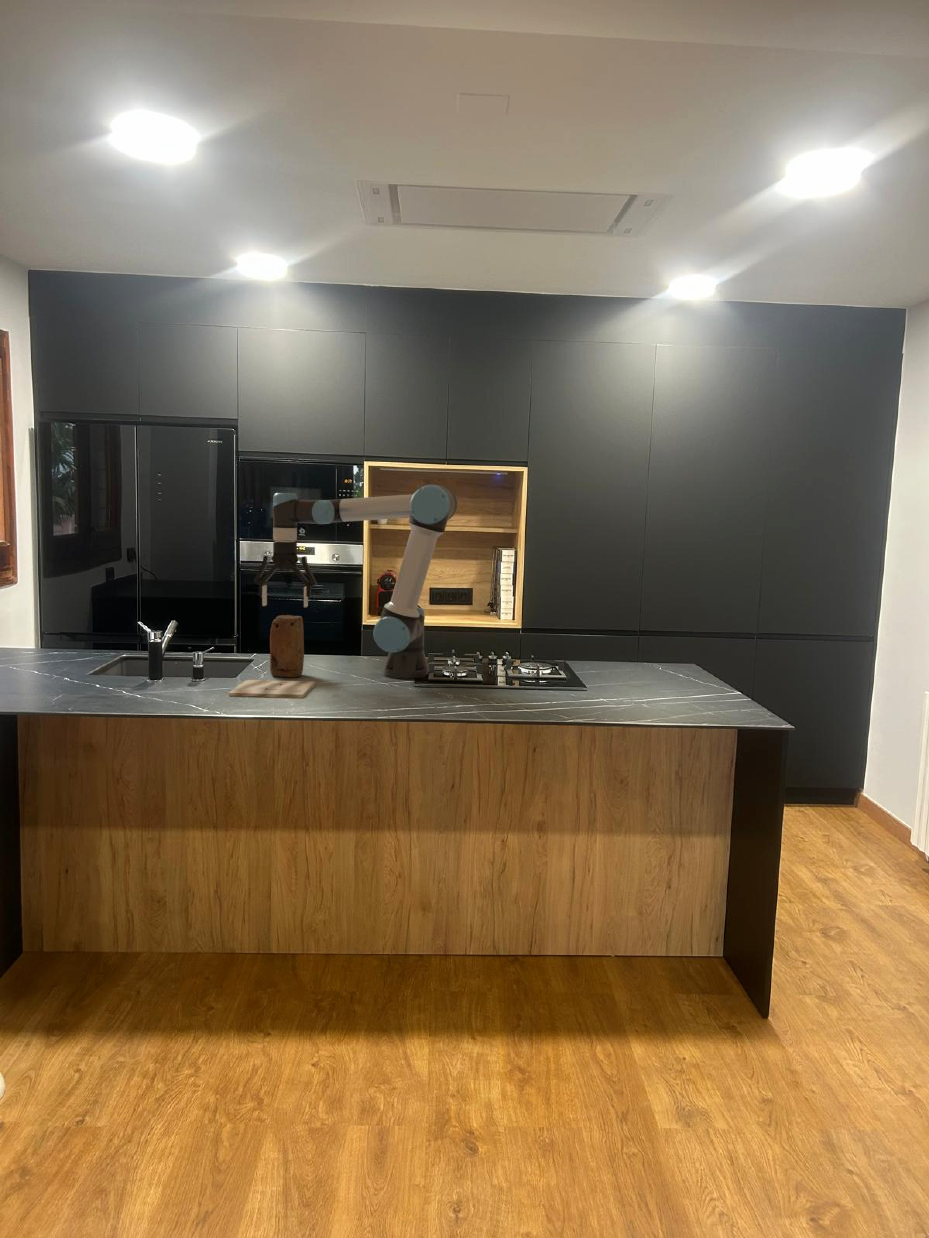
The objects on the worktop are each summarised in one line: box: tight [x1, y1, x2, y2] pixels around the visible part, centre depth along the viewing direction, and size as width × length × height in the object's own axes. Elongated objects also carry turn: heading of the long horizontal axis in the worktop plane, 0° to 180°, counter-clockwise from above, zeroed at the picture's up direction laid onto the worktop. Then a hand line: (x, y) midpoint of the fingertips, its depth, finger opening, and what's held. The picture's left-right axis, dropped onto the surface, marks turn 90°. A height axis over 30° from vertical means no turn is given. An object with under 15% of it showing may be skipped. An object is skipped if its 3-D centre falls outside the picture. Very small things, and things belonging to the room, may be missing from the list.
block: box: [269, 614, 305, 678], centre depth 277 cm, size 11×8×20 cm
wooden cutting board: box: [228, 679, 316, 699], centre depth 257 cm, size 22×18×1 cm
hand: (285, 606), depth 275 cm, fingers open, 13 cm apart
